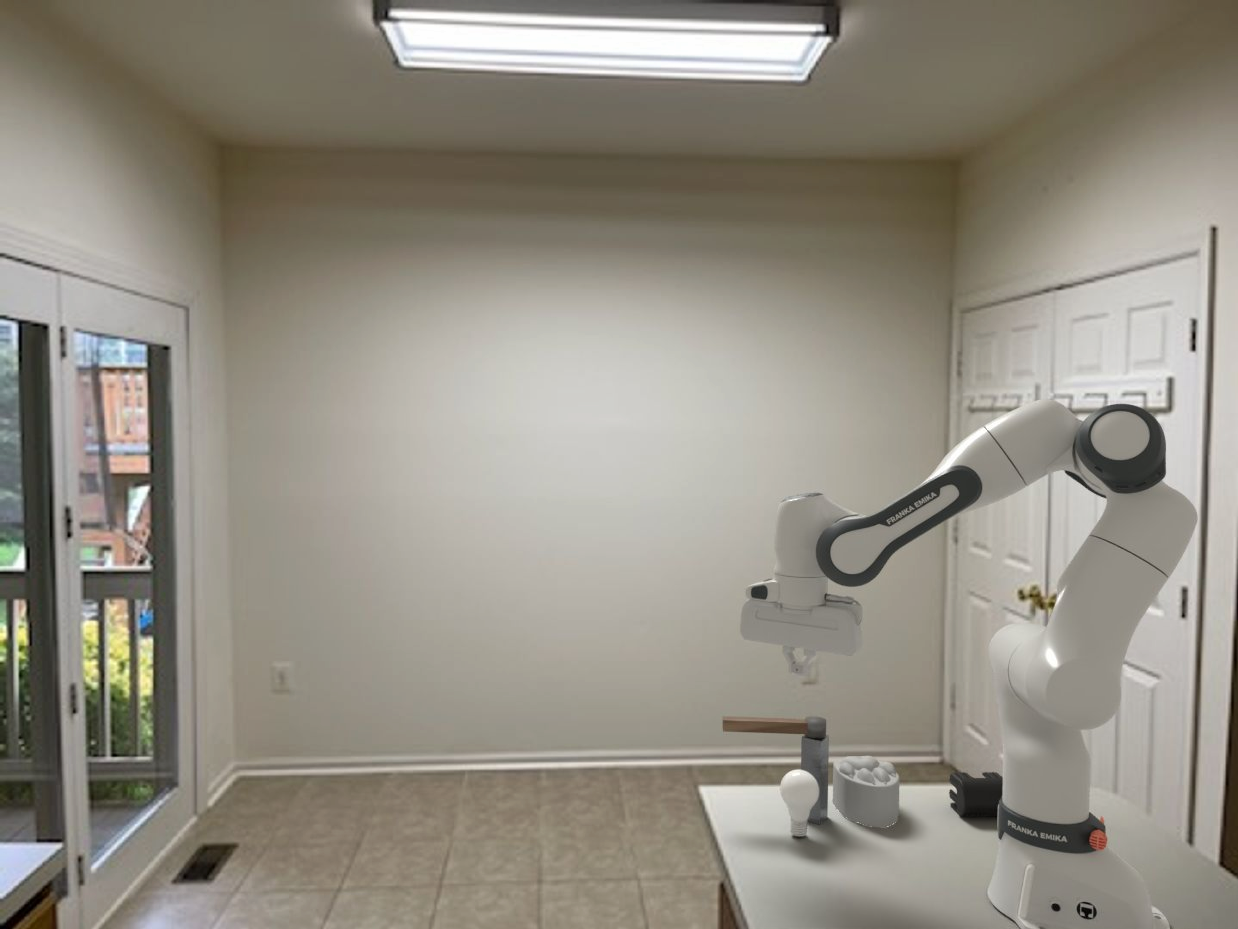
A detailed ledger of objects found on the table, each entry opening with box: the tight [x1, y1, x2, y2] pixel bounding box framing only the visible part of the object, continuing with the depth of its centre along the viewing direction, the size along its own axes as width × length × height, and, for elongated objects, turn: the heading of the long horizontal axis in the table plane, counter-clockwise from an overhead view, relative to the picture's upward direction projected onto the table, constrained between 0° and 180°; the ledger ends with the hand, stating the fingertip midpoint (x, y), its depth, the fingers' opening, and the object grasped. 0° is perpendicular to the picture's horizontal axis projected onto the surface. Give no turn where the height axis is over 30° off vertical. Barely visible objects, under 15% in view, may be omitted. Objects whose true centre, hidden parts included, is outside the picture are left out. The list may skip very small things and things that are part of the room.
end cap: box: [948, 771, 1003, 817], centre depth 151 cm, size 10×7×7 cm
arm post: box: [800, 734, 830, 825], centre depth 148 cm, size 4×4×14 cm
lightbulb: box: [779, 768, 819, 838], centre depth 141 cm, size 6×6×11 cm
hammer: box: [722, 715, 827, 738], centre depth 148 cm, size 4×18×3 cm, turn 86°
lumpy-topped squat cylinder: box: [832, 755, 901, 828], centre depth 151 cm, size 10×13×9 cm
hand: (798, 674), depth 141 cm, fingers closed
